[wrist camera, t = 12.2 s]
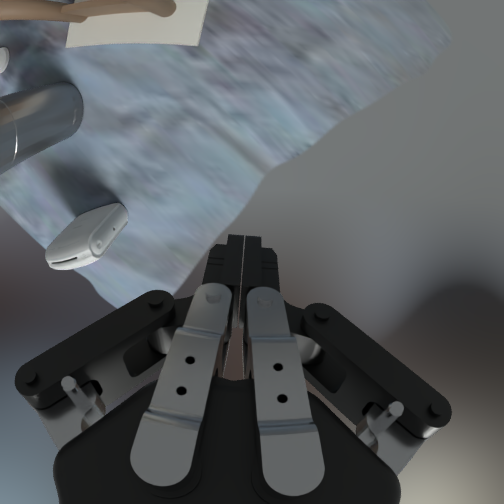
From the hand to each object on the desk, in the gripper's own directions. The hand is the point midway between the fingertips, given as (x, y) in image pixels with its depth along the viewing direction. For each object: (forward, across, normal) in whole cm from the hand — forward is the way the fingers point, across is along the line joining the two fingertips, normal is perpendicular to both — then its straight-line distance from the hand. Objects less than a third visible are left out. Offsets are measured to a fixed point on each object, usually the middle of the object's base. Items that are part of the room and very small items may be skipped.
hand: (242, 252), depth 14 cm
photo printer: (+27, +23, +14) cm, 38 cm away
